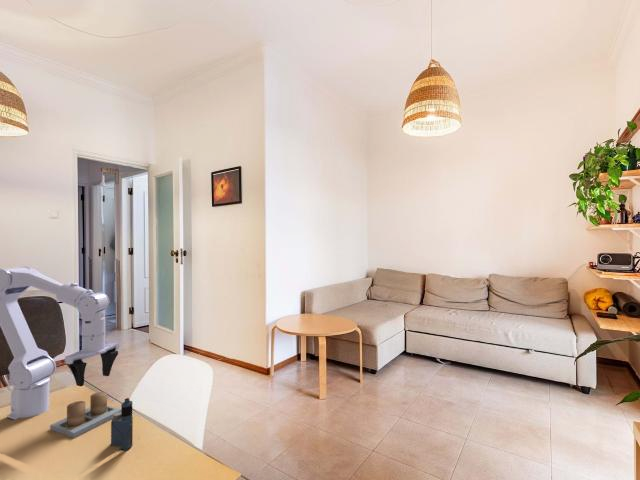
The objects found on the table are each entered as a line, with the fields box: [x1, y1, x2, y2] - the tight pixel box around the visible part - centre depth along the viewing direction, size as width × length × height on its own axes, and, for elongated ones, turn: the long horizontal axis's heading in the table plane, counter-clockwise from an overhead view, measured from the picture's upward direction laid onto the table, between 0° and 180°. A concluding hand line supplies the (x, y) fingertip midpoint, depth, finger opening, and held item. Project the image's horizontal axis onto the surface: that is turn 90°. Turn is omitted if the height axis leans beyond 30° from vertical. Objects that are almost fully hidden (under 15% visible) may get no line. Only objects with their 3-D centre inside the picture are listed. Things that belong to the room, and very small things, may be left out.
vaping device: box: [110, 397, 134, 452], centre depth 82 cm, size 3×5×12 cm, turn 78°
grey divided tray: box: [49, 404, 121, 439], centre depth 92 cm, size 10×13×2 cm
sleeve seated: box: [89, 391, 108, 418], centre depth 95 cm, size 4×4×6 cm
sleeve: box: [66, 400, 86, 430], centre depth 89 cm, size 4×4×6 cm
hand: (93, 380), depth 98 cm, fingers open, 7 cm apart
